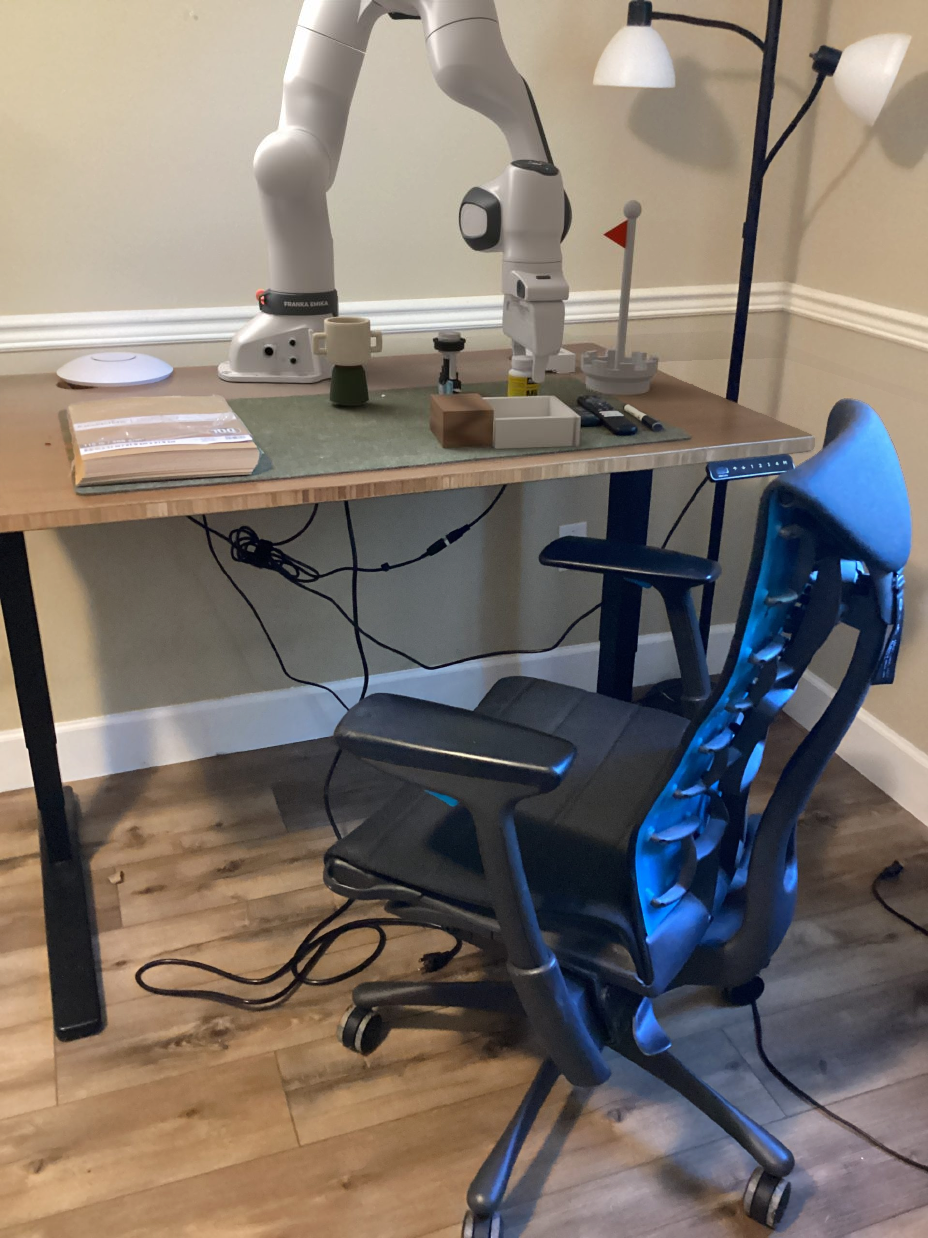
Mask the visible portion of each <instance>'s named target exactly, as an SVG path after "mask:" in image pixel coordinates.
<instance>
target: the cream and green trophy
mask: <svg viewBox="0 0 928 1238" xmlns="http://www.w3.org/2000/svg"><path fill="white" fill-rule="evenodd" d="M324 332H325V333H314V334H313V336H312V342H313V353H314V354H315V355H325V357H326V359H327V362H329V363H331V364H335V366H334V367H333V370H332V376H331V378H330V386H329V387H330V388H329V390H330V391H329V401H330V402H332V403H334V404H338V406H359V405H363V404H366V403H367V402H369V401H370V396H369V387H368V381H367V375H366V370H365V368H364V366H363V365H366V364H368V363H370V361H371V358H372V353H377V354H378V353H381V352H382V350H383V333H382V331H381V330H371V320H370V319H369V318H366V317H359V316H339V317H332V318H327V319H325V320H324ZM371 338H375V344H376V345H375V346H374V345H373V346H372V345H371V344H372V341H371ZM319 339H325V348H319Z"/></svg>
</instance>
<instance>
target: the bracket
mask: <svg viewBox="0 0 928 1238" xmlns="http://www.w3.org/2000/svg"><path fill="white" fill-rule="evenodd" d="M532 355H533V353H532V352H531V351H529V350H528V349H526V356H532ZM513 356H514V355H513V354H512V357H513ZM575 369H576V354H575V353H573V352H571V351H569V350H567V349H565V348H563V347H561V349H560V352H559V354H558V355H552V356H549V360H548V364H547V367H546V370H545V371H551V370H553V371H555V372H574V373H575V372H576V371H575ZM553 371H552V372H553ZM555 372H554V373H555Z"/></svg>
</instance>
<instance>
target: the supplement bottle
mask: <svg viewBox="0 0 928 1238" xmlns="http://www.w3.org/2000/svg"><path fill="white" fill-rule="evenodd" d="M510 367H512V368H511V369H509V371H508V377H507V378H508V379H507V380H508V382H507V397H519V396H539V385H540V383H535V382H534V381H532V380H531V369H532V368H533V358H532V356H526V355H519V356H513V355H512V356H511V364H510Z"/></svg>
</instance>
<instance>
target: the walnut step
mask: <svg viewBox="0 0 928 1238" xmlns="http://www.w3.org/2000/svg"><path fill="white" fill-rule="evenodd" d="M483 398H484V397H482V396H481V395H480V393H477V392H476V393H459V394H439V393H437V394H433V393H432V394H429V418H430V419H429V430H430V431H431V432H432V433H431V434H432V435H434V437H435V439H436V440H437V441H438V443H439V444H440V446H441V447H442V449H443V448H444V449H445V448H469V447H470V448H471V447H493V420H494V410H493V409H492V407H491V406H490V405H489V404H488V403H487V402H486V401H485V400H484V399H483Z"/></svg>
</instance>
